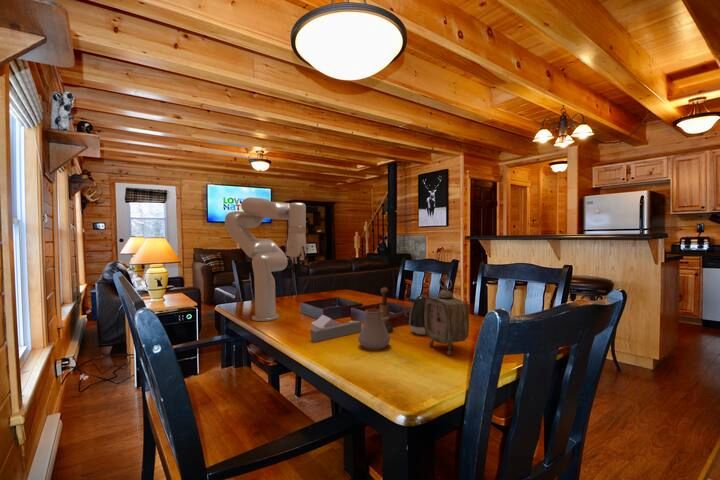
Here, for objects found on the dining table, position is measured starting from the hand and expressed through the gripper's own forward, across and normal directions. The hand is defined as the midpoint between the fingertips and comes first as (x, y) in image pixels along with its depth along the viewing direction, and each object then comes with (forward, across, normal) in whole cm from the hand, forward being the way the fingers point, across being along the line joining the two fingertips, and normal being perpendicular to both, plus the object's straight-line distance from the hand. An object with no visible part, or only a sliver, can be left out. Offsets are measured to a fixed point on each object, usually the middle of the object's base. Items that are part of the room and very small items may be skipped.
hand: (296, 272), depth 154 cm
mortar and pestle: (+23, +33, +22) cm, 46 cm away
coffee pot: (+22, +50, +6) cm, 55 cm away
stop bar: (+23, +26, +4) cm, 35 cm away
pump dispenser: (+22, +45, +31) cm, 59 cm away
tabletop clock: (+22, +64, +22) cm, 71 cm away
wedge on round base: (+23, +17, +3) cm, 29 cm away
